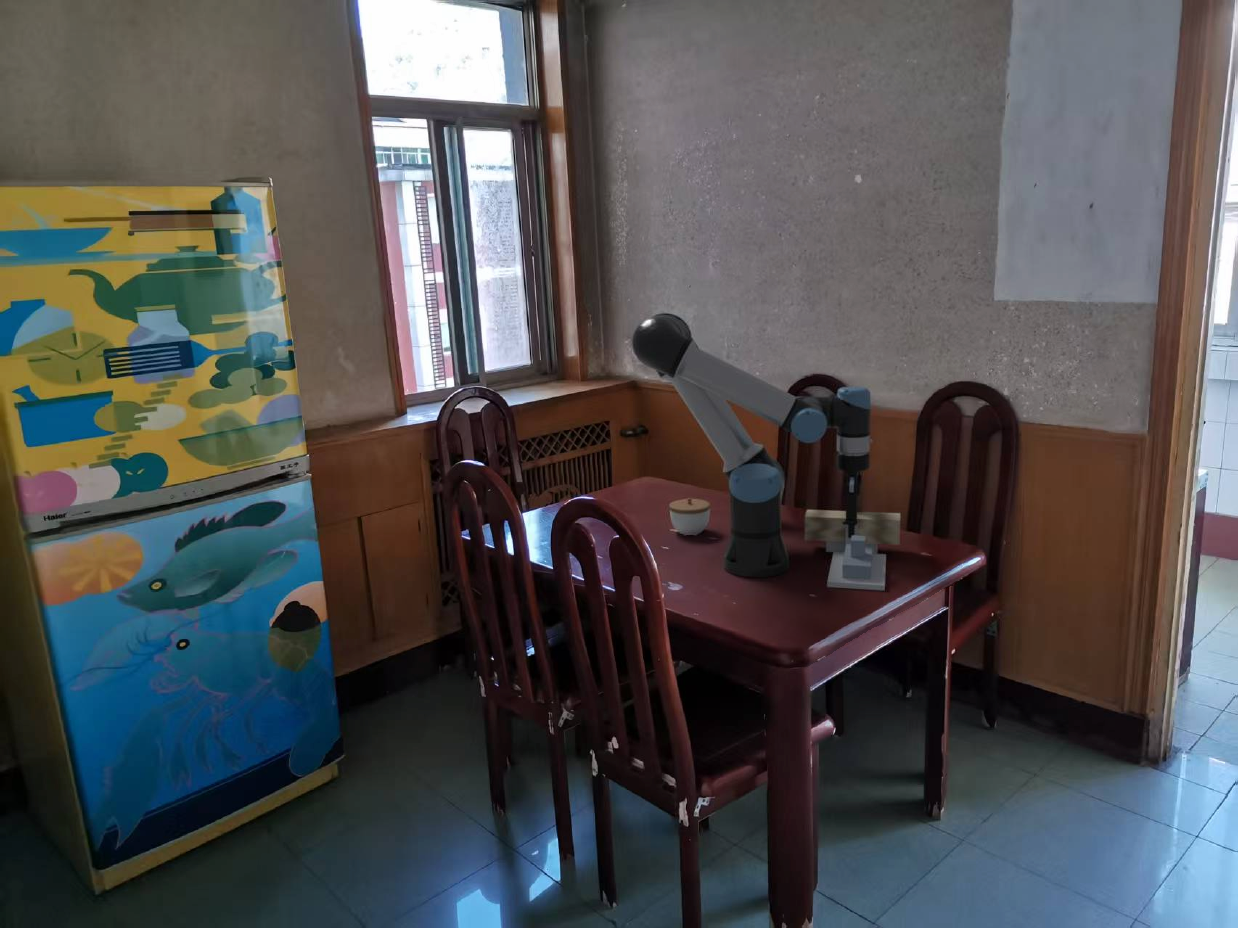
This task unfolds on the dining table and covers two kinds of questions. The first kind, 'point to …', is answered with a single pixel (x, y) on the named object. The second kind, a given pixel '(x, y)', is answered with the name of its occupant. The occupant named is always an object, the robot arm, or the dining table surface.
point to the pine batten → (869, 525)
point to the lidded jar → (689, 515)
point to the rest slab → (841, 547)
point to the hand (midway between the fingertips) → (851, 544)
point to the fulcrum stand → (857, 567)
